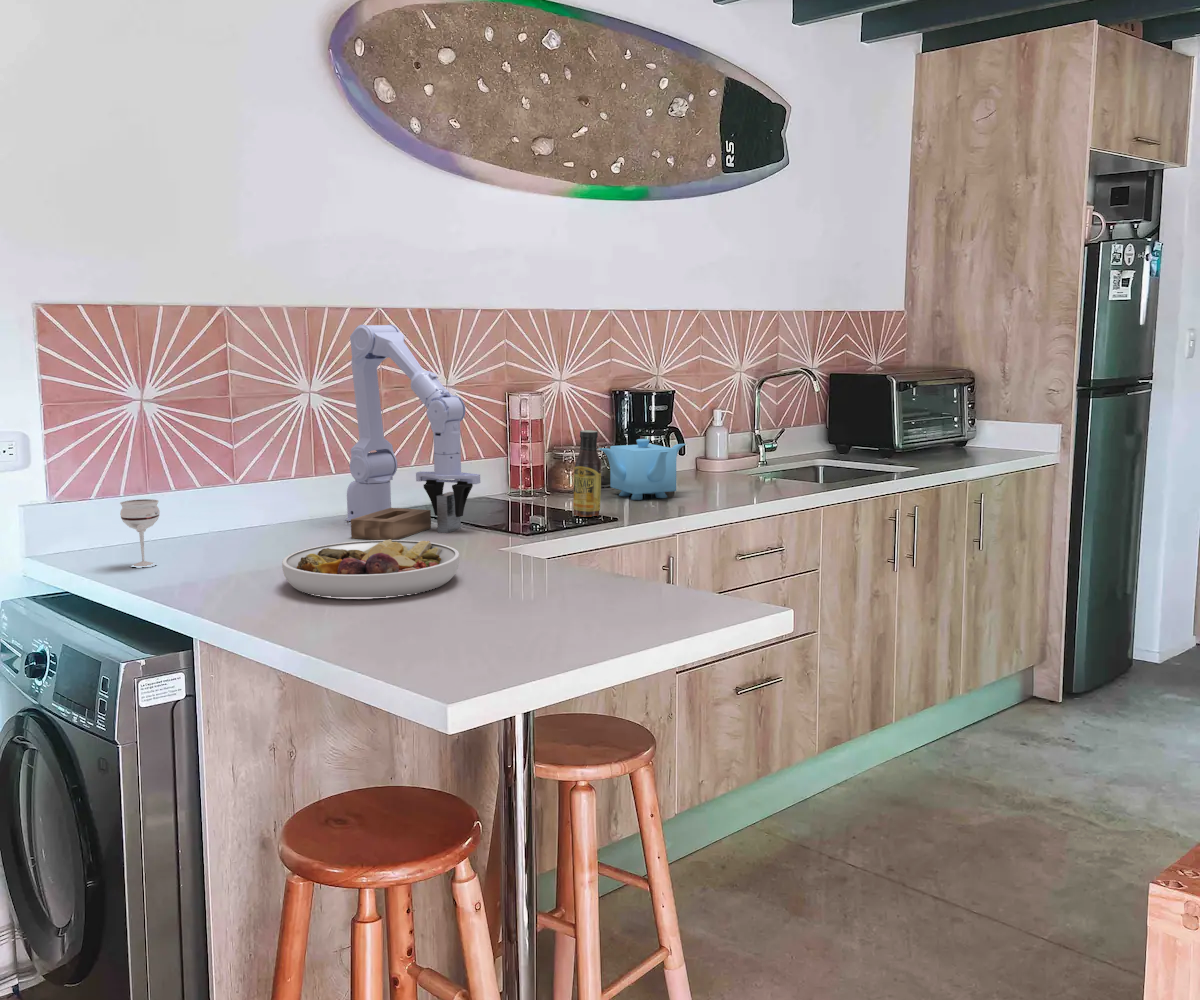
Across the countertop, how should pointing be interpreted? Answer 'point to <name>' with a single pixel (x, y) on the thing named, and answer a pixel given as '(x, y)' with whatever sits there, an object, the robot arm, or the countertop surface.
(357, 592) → the bowl
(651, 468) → the teakettle
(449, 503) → the gray rectangular block
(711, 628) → the countertop surface
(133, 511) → the wineglass
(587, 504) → the sauce bottle
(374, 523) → the wooden slotted block
